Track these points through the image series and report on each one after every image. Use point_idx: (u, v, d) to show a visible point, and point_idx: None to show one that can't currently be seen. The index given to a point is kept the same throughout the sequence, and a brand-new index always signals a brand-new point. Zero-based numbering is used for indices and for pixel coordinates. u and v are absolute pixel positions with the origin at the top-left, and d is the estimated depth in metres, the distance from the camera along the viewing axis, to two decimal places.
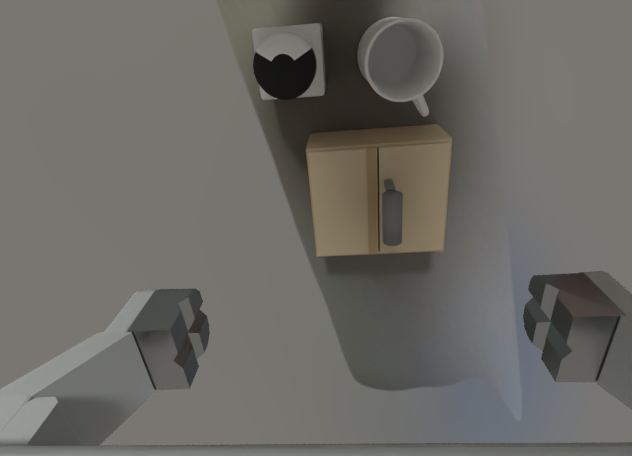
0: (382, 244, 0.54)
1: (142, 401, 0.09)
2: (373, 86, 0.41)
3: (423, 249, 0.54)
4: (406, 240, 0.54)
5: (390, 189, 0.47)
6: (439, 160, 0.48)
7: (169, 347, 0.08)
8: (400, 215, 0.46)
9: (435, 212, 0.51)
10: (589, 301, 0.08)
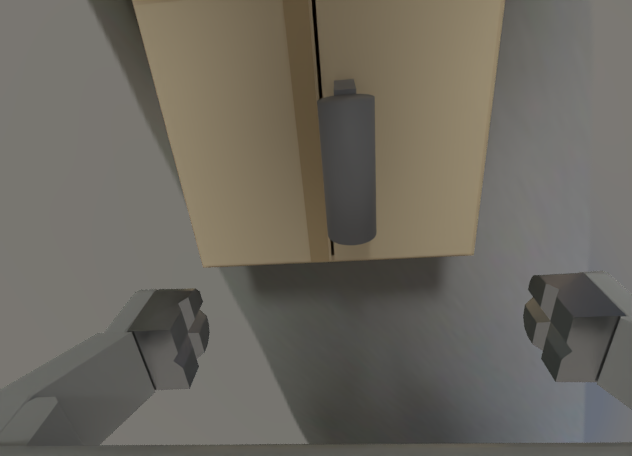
0: None
1: (142, 401, 0.09)
2: None
3: (429, 251, 0.25)
4: (391, 232, 0.24)
5: (343, 91, 0.17)
6: (472, 20, 0.18)
7: (169, 347, 0.08)
8: (369, 160, 0.17)
9: (458, 164, 0.22)
10: (589, 301, 0.08)
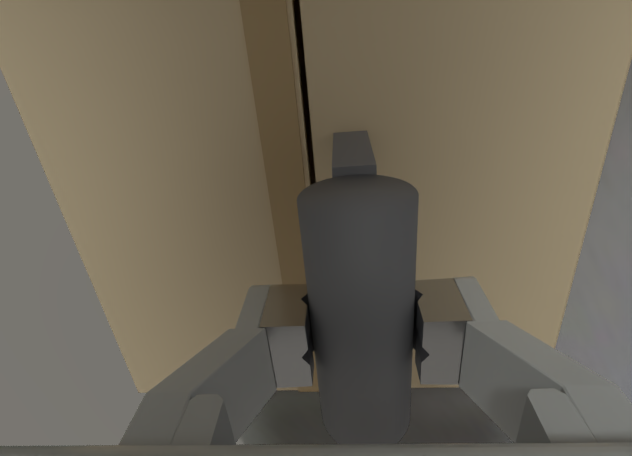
0: None
1: (267, 399, 0.08)
2: None
3: None
4: None
5: (350, 169, 0.09)
6: (588, 31, 0.10)
7: (300, 343, 0.08)
8: (404, 317, 0.08)
9: (537, 264, 0.13)
10: (445, 306, 0.08)
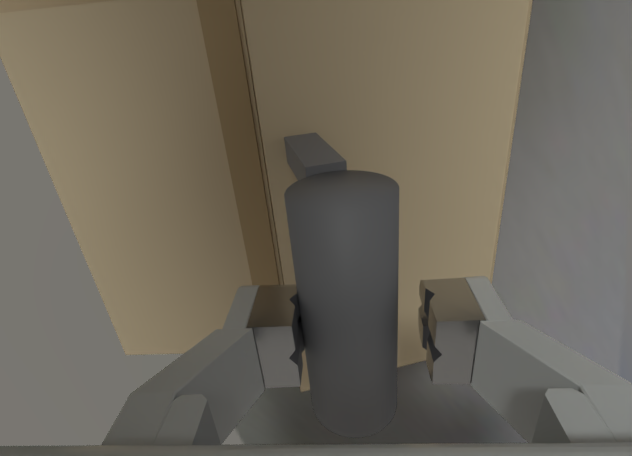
0: (306, 366, 0.16)
1: (255, 399, 0.08)
2: None
3: None
4: None
5: (322, 167, 0.09)
6: (490, 37, 0.12)
7: (287, 344, 0.08)
8: (394, 297, 0.09)
9: (467, 239, 0.15)
10: (458, 306, 0.08)
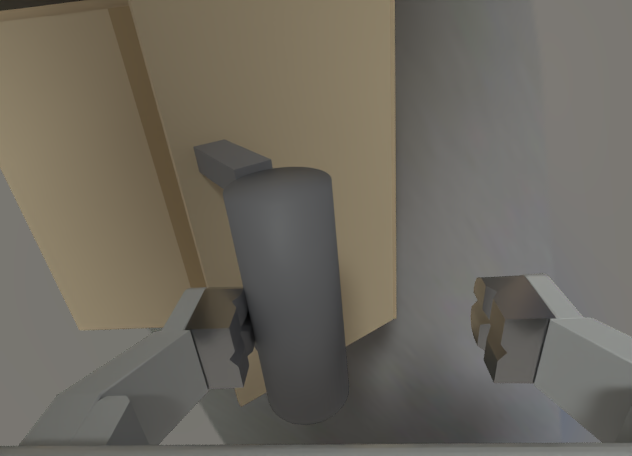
0: None
1: (197, 400, 0.09)
2: None
3: (353, 337, 0.19)
4: None
5: (249, 168, 0.09)
6: (364, 43, 0.14)
7: (226, 345, 0.08)
8: (338, 277, 0.09)
9: (370, 224, 0.17)
10: (523, 303, 0.08)
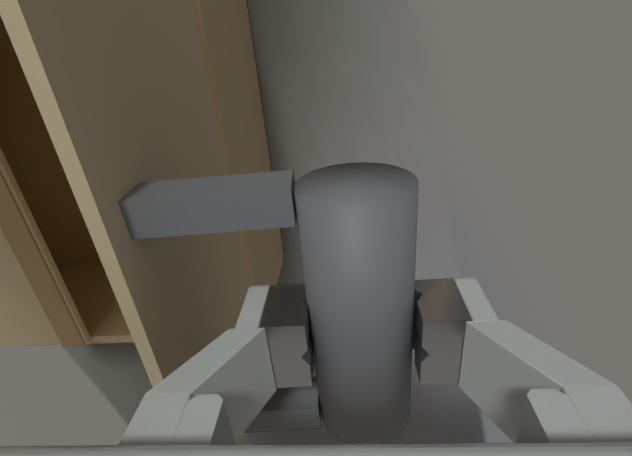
0: None
1: (267, 399, 0.08)
2: None
3: None
4: None
5: (290, 184, 0.07)
6: (193, 52, 0.12)
7: (299, 343, 0.08)
8: None
9: (234, 249, 0.15)
10: (445, 306, 0.08)
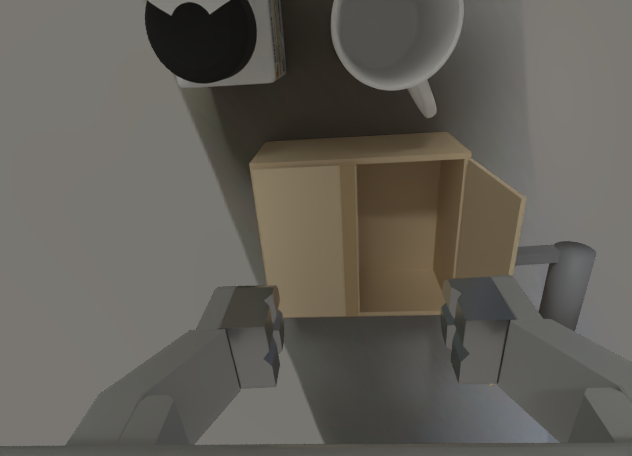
0: None
1: (230, 400, 0.08)
2: (346, 63, 0.25)
3: None
4: None
5: (556, 250, 0.25)
6: None
7: (261, 344, 0.08)
8: None
9: None
10: (486, 305, 0.08)
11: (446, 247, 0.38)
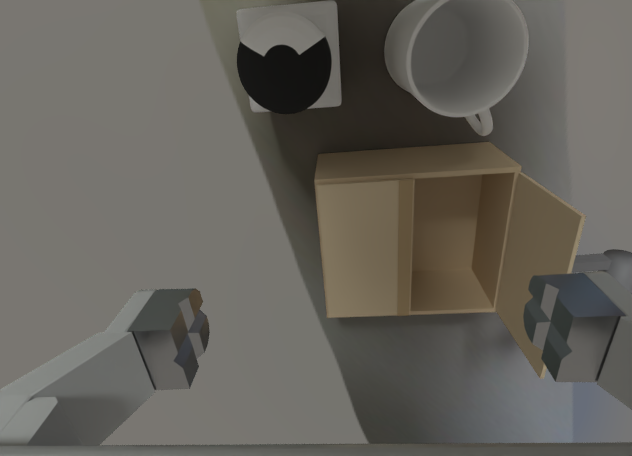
0: None
1: (142, 401, 0.09)
2: (418, 94, 0.27)
3: None
4: None
5: (606, 258, 0.28)
6: None
7: (169, 347, 0.08)
8: None
9: None
10: (589, 301, 0.08)
11: (489, 250, 0.41)
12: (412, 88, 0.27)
